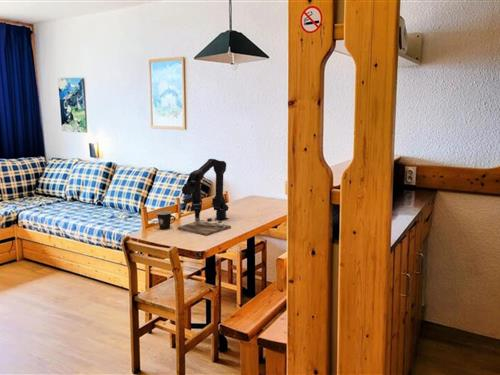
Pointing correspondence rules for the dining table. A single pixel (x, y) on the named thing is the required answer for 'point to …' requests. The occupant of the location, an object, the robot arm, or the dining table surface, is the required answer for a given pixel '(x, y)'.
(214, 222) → the lever
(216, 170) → the robot arm
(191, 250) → the dining table surface
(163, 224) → the coffee mug
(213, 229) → the nutcracker board
